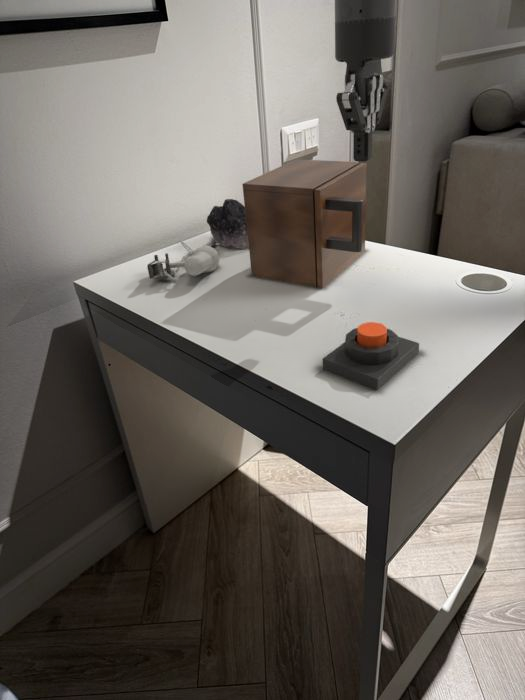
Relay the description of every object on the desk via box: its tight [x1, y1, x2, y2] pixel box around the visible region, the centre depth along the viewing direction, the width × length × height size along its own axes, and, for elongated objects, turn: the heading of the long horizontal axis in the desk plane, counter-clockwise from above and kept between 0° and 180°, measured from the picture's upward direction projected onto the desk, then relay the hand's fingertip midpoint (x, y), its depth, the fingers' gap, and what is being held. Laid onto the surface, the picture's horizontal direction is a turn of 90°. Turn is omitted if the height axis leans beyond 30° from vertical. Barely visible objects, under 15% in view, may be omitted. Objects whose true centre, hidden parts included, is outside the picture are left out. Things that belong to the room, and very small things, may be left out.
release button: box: [356, 321, 388, 347], centre depth 65 cm, size 4×4×2 cm
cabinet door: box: [314, 162, 368, 289], centre depth 87 cm, size 7×18×17 cm, turn 148°
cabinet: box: [242, 159, 361, 288], centre depth 92 cm, size 13×18×17 cm
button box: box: [322, 327, 420, 391], centre depth 66 cm, size 10×8×4 cm
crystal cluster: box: [206, 198, 249, 249], centre depth 110 cm, size 13×14×10 cm
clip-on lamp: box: [146, 238, 221, 281], centre depth 98 cm, size 12×6×18 cm
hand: (362, 160), depth 74 cm, fingers closed
